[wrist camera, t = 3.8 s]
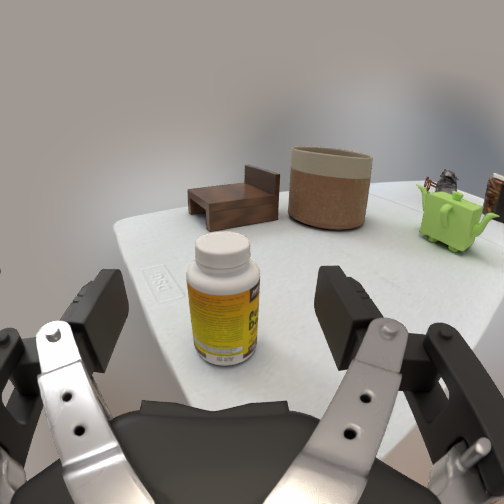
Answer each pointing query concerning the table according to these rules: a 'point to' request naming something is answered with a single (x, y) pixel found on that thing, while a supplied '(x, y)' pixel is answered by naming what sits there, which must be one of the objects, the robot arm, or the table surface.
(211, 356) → the supplement bottle
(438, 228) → the teapot
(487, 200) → the jar
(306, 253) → the table surface
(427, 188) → the glasses
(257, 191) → the shelf
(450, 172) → the shoe
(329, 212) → the planter
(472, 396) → the robot arm
